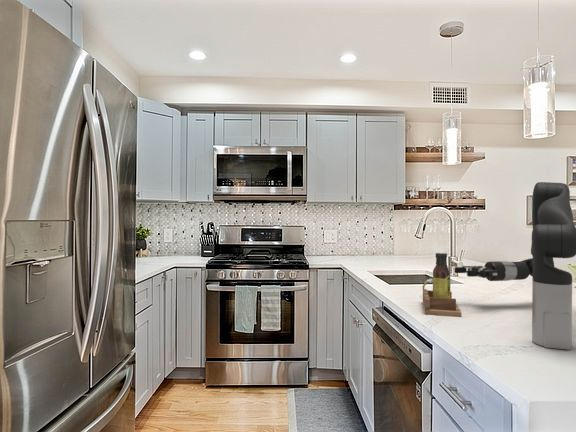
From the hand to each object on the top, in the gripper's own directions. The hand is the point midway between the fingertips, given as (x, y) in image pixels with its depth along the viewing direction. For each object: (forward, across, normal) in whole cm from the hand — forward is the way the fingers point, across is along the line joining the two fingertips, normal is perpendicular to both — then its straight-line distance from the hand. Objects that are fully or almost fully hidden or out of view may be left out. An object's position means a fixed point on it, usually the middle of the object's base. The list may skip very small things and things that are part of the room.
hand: (461, 271), depth 151 cm
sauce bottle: (+8, 0, +13) cm, 15 cm away
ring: (+1, -21, +14) cm, 25 cm away
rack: (+8, 0, +14) cm, 16 cm away
